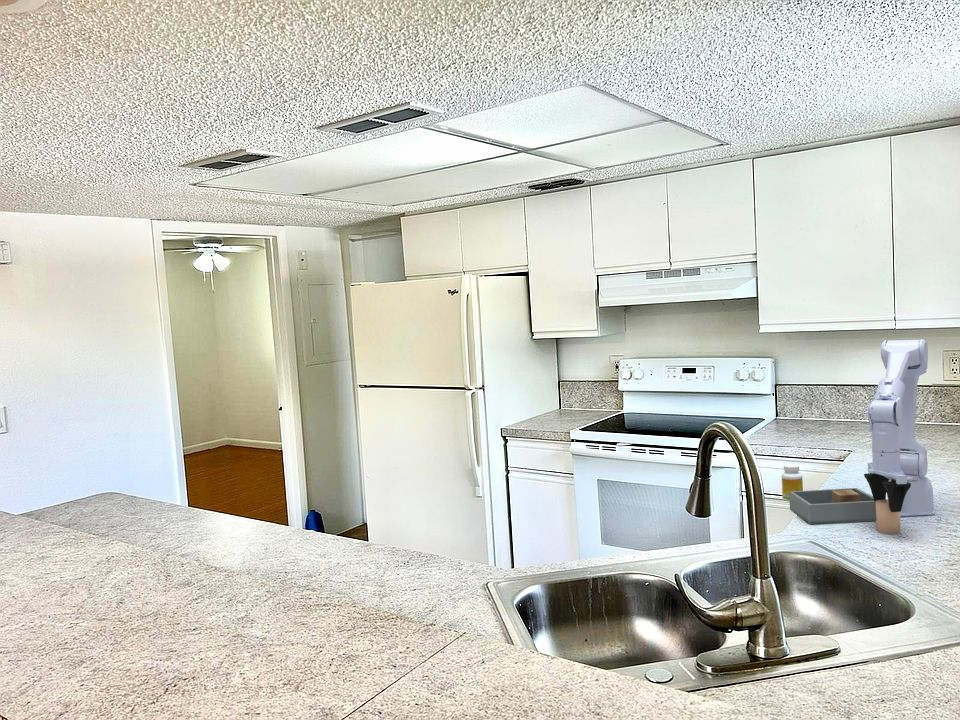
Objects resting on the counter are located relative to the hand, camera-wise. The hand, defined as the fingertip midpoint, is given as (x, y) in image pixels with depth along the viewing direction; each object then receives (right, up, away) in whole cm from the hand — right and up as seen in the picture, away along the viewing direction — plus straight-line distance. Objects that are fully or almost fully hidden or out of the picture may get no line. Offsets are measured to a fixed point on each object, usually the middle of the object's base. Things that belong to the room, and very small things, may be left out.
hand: (887, 507), depth 178 cm
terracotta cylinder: (0, -6, 0) cm, 6 cm away
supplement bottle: (-9, -4, +32) cm, 33 cm away
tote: (-5, -5, +15) cm, 17 cm away
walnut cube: (-3, -4, +15) cm, 16 cm away
